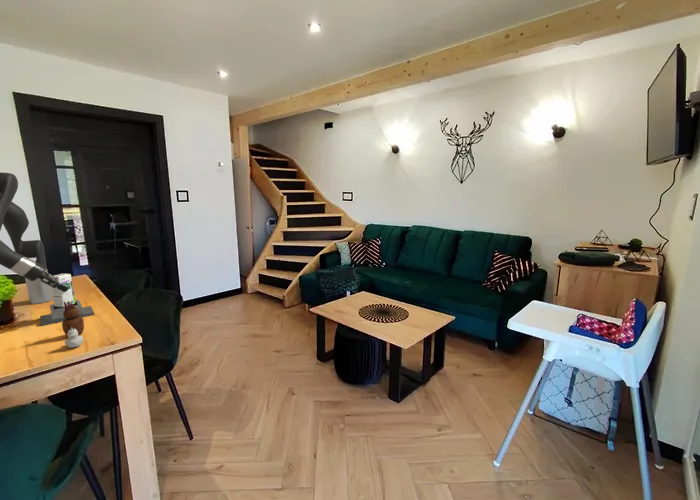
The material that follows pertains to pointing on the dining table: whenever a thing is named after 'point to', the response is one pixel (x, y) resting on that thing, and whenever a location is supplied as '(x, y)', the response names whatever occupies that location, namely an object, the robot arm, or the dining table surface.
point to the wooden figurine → (72, 319)
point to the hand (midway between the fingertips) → (66, 288)
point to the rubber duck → (73, 339)
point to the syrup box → (60, 295)
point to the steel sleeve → (58, 312)
